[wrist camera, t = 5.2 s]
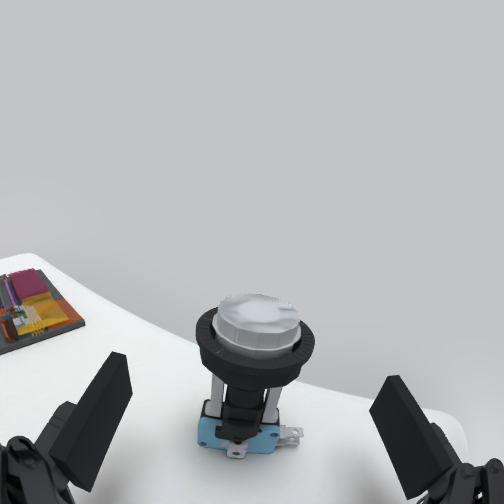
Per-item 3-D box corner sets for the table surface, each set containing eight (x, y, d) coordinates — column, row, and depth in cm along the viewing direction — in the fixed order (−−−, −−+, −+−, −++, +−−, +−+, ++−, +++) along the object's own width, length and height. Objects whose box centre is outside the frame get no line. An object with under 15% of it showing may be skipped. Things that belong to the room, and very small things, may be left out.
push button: (294, 417, 17) (333, 296, 14) (300, 476, 12) (364, 353, 9) (202, 407, 17) (209, 280, 14) (187, 466, 12) (182, 334, 9)
